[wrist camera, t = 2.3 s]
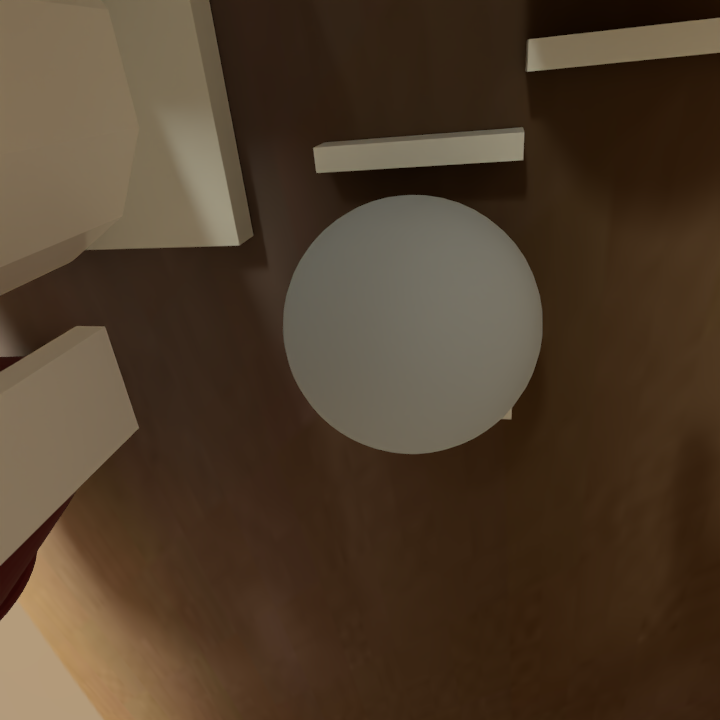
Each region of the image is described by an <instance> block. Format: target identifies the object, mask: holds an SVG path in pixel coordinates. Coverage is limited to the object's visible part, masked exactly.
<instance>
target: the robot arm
mask: <svg viewBox="0 0 720 720" xmlns="http://www.w3.org/2000/svg"><path fill="white" fill-rule="evenodd" d="M138 429H139V426H138V423H137V420H136V417H135V414H134V411H133V408H132V405H131V402H130V399H129V396H128V393H127V390H126V387H125V384H124V381H123V378H122V376H121V373H120V370H119V367H118V364H117V361H116V358H115V355H114V352H113V349H112V346H111V343H110V340H109V337H108V334H107V331H106V328H105V326H75V327H74V328H72V329H70V330H69V331H67V332H65V333H64V334H62V335H61V336H59V337H57V338H56V339H54V340H52V341H51V342H49V343H47V344H46V345H44V346H42V347H41V348H39V349H37V350H36V351H34V352H33V353H31V354H29V355H28V356H26V357H24V358H23V359H21V360H19V361H18V362H16V363H14V364H13V365H11V366H9V367H8V368H6V369H4V370H3V371H1V372H0V565H2V564H3V563H4V562H5V561H6V560H7V559H8V558H9V557H10V556H11V555H12V554H13V553H14V552H15V551H16V550H17V549H18V548H19V547H20V546H21V545H22V544H23V543H24V542H25V541H26V540H27V539H28V538H29V537H30V536H31V535H32V534H33V533H34V532H35V531H36V530H37V529H38V528H39V527H40V526H41V525H42V524H43V523H44V522H45V521H46V520H47V519H48V518H49V517H50V516H51V515H52V514H53V513H54V512H55V511H56V510H57V509H58V508H59V507H60V506H61V505H62V504H63V503H64V502H65V501H66V500H67V499H68V498H69V497H70V496H71V495H72V494H73V493H74V492H75V491H76V490H77V489H78V488H79V487H80V486H81V485H82V484H83V483H84V482H85V481H86V480H87V479H88V478H89V477H90V476H91V475H92V474H93V473H94V472H95V471H96V470H97V469H98V468H99V467H100V466H101V465H102V464H103V463H104V462H105V461H106V460H107V459H108V458H109V457H110V456H111V455H112V454H113V453H114V452H115V451H116V450H117V449H118V448H119V447H120V446H121V445H122V444H123V443H124V442H125V441H127V440H128V439H129V438H130V437H131V436H132V435H133V434H134V433H135V432H136V431H137V430H138Z"/></svg>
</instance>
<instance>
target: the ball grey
mask: <svg viewBox="0 0 720 720" xmlns="http://www.w3.org/2000/svg"><path fill="white" fill-rule="evenodd" d="M283 337H284V346H285V350H286V354H287V358H288V362H289V366H290V369H291V371H292V374H293V376H294V379H295V381H296V383H297V385H298V386H299V388H300V390H301V392H302V393H303V395H304V396H305V397H306V399H307V400H308V402H309V403H310V405H311V406H312V407H313V408H314V410H315V411H316V412H317V413H318V414H319V415H320V416H321V417H322V418H323V419H324V420H325V421H326V422H327V423H328V424H330V425H331V426H332V427H334V428H335V429H336V430H338V431H339V432H340V433H342V434H344V435H345V436H347V437H349V438H351V439H352V440H355V441H357V442H359V443H361V444H363V445H366V446H369V447H372V448H375V449H378V450H383V451H387V452H393V453H401V454H423V453H432V452H437V451H441V450H445V449H449V448H452V447H455V446H458V445H461V444H463V443H465V442H468V441H470V440H472V439H474V438H476V437H477V436H479V435H480V434H482V433H484V432H485V431H487V430H488V429H489V428H491V427H492V426H493V425H494V424H496V423H497V422H498V421H499V420H500V419H502V418H503V417H504V416H505V415H506V414H507V412H508V411H509V410H510V409H511V408H512V407H513V406H514V404H515V403H516V402H517V400H518V399H519V397H520V396H521V394H522V393H523V391H524V390H525V388H526V387H527V385H528V383H529V381H530V378H531V376H532V374H533V372H534V369H535V366H536V362H537V359H538V356H539V353H540V348H541V341H542V306H541V300H540V294H539V291H538V288H537V285H536V281H535V278H534V276H533V273H532V271H531V269H530V267H529V265H528V263H527V261H526V259H525V257H524V256H523V254H522V253H521V251H520V250H519V248H518V247H517V245H516V244H515V243H514V242H513V241H512V240H511V239H510V237H509V236H508V235H507V234H506V233H505V232H504V231H503V230H502V229H501V228H499V227H498V226H497V225H496V224H495V223H493V222H492V221H491V220H490V219H488V218H487V217H485V216H484V215H482V214H480V213H479V212H477V211H476V210H474V209H472V208H470V207H467V206H465V205H463V204H461V203H458V202H455V201H451V200H448V199H445V198H440V197H434V196H427V195H402V196H394V197H387V198H383V199H379V200H375V201H372V202H369V203H367V204H364V205H362V206H359V207H357V208H355V209H353V210H352V211H350V212H348V213H347V214H345V215H343V216H342V217H340V218H339V219H337V220H336V221H335V222H333V223H332V224H331V225H330V226H328V227H327V228H326V229H325V230H324V231H323V232H322V233H321V234H320V235H319V236H318V237H317V238H316V239H315V240H314V241H313V243H312V244H311V245H310V247H309V248H308V250H307V251H306V252H305V254H304V255H303V257H302V258H301V260H300V262H299V264H298V266H297V268H296V270H295V272H294V274H293V276H292V279H291V282H290V285H289V288H288V292H287V295H286V300H285V306H284V315H283Z"/></svg>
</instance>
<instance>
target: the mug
mask: <svg viewBox="0 0 720 720" xmlns="http://www.w3.org/2000/svg"><path fill="white" fill-rule="evenodd" d="M24 357H25V356H24ZM24 357H0V372H1V371H3V370H4V369H6V368H8V367H9V366H11V365H13V364H14V363H16V362H18V361H19V360H21V359H23V358H24ZM75 492H76V491H75ZM75 492H74V493H73V494H72V495H71V496H70V497H69V498H68V499H67V500H66V501H65V502H64V503H63V504H62V505H61V506H60V507H59V508H58V509H57V510H56V511H55V512H54V513H53V514H52V515H51V516H50V517H49V518H48V519H47V520H46V521H45V522H44V523H43V524H42V525H41V526H40V527H39V528H38V529H37V530H36V531H35V532H34V533H33V534H32V535H31V536H30V537H29V538H28V539H27V540H26V541H25V542H24V543H23V544H22V545H21V546H20V547H19V548H18V549H17V550H16V551H15V552H14V553H13V554H12V555H11V556H10V557H9V558H8V559H7V560H6V561H5V562H4V563H3V564H2V565H0V620H1V619H2V618H3V617H4V616H5V615H6V614H7V612H8V611H9V610H10V609H11V607H12V606H13V605H14V603H15V602H16V601H17V599H18V598H19V596H20V595H21V593H22V592H23V590H24V588H25V586H26V584H27V582H28V581H29V578H30V576H31V573H32V571H33V568H34V564H35V561H36V555H37V551H38V549H39V548H40V546H41V545H42V543H43V542H44V540H45V539H46V537H47V536H48V534H49V533H50V531H51V530H52V528H53V527H54V525H55V524H56V522H57V521H58V519H59V518H60V516H61V515H62V513H63V512H64V510H65V509H66V507H67V506H68V504H69V502H70V501H71V499H72V497H73V496H74V494H75Z"/></svg>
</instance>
